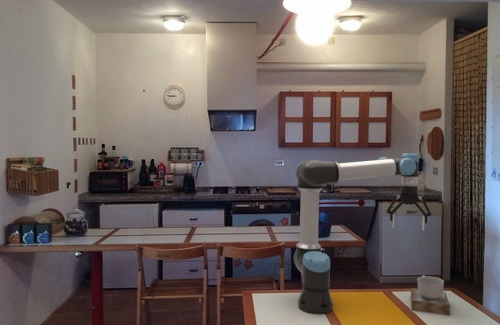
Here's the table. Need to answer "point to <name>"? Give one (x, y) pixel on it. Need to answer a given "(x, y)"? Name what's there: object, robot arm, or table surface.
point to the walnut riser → (429, 303)
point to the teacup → (430, 287)
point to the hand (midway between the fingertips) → (408, 228)
